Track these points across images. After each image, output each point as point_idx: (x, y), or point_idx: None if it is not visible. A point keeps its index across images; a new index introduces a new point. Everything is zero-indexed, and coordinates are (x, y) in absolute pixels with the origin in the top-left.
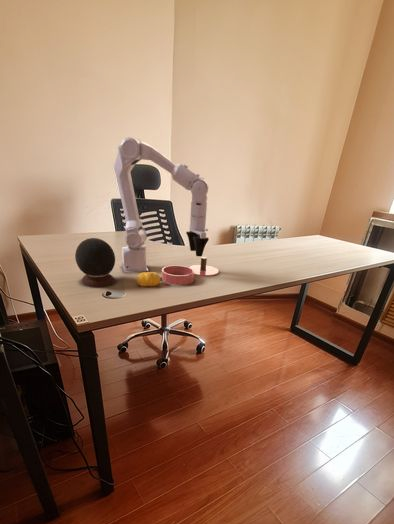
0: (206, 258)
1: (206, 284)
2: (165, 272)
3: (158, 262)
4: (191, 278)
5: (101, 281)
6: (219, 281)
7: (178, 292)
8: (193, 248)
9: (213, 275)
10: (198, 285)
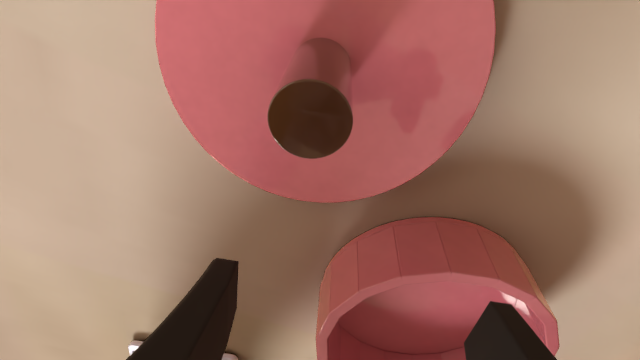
0: (348, 101)
1: (592, 175)
2: (345, 352)
3: (50, 265)
4: (542, 295)
5: None
6: (623, 29)
7: (575, 347)
8: (229, 315)
9: (491, 28)
10: (567, 231)
